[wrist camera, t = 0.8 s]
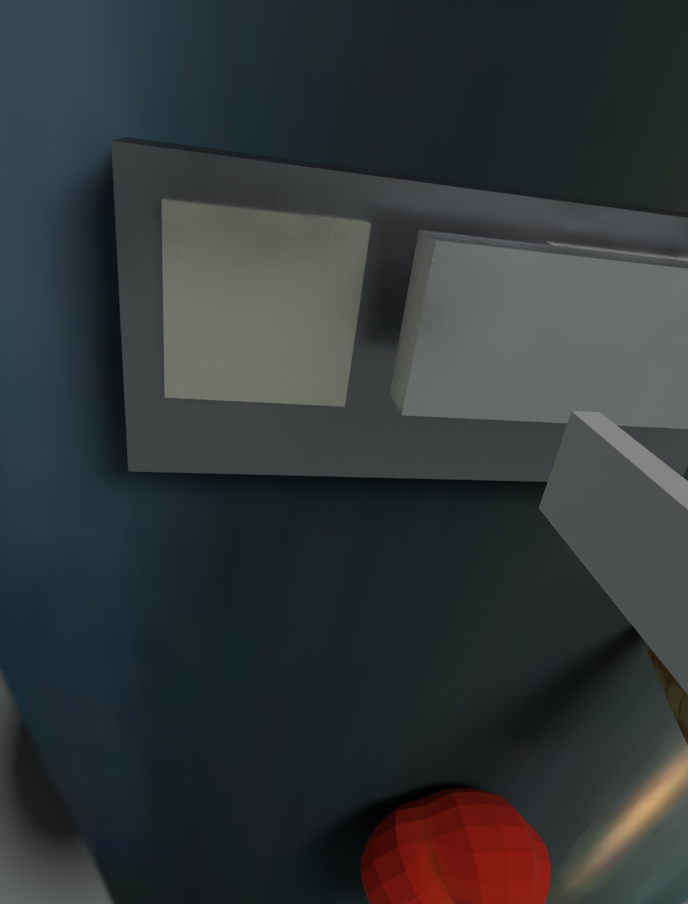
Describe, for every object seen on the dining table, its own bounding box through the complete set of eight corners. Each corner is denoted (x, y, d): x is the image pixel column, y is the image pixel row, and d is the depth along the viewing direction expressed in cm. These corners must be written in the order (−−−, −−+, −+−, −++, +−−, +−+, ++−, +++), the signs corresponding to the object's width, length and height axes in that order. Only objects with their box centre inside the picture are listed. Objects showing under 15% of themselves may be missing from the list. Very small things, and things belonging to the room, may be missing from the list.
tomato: (343, 869, 48) (363, 1008, 41) (354, 776, 42) (380, 920, 35) (501, 845, 51) (548, 972, 43) (532, 754, 45) (594, 884, 37)
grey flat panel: (417, 228, 19) (441, 243, 17) (857, 280, 22) (924, 297, 20) (387, 391, 21) (405, 422, 19) (785, 413, 25) (837, 441, 23)
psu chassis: (125, 137, 21) (97, 143, 16) (751, 222, 26) (857, 244, 22) (138, 436, 27) (119, 501, 22) (650, 455, 32) (718, 510, 28)
